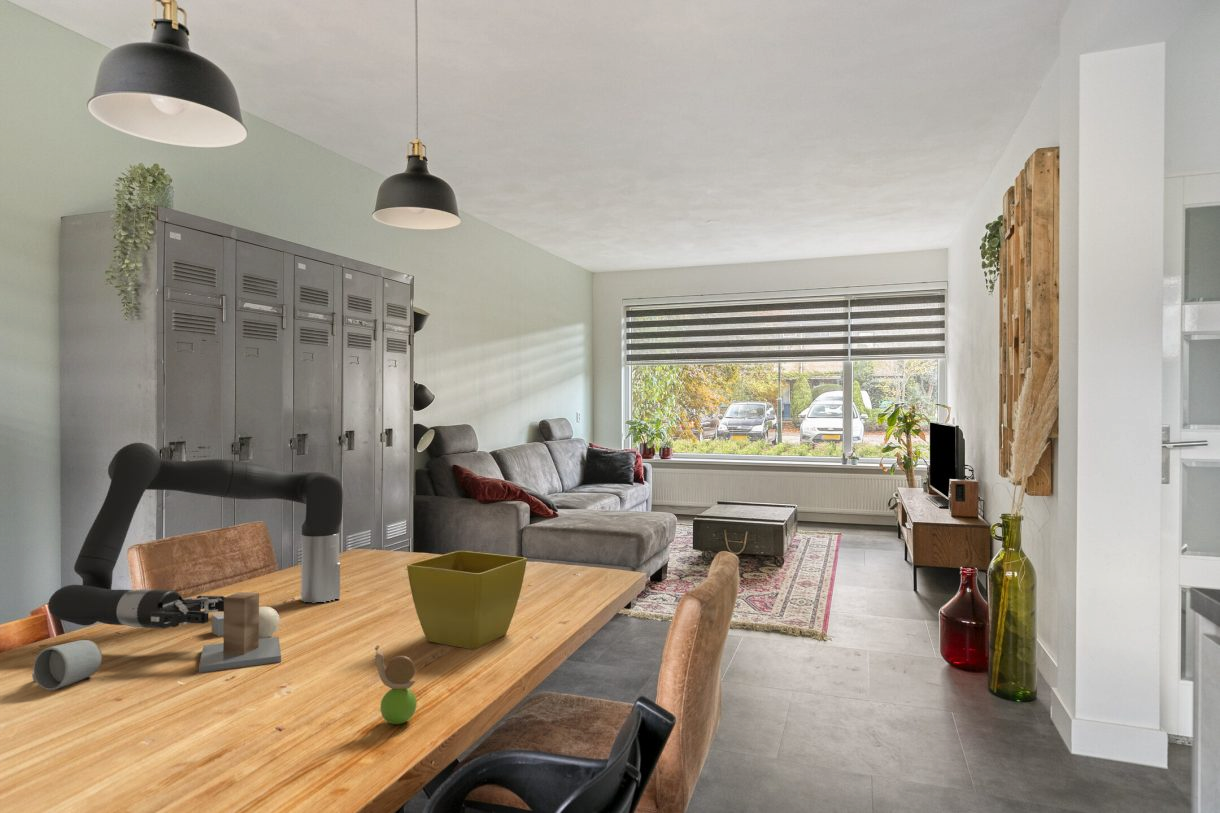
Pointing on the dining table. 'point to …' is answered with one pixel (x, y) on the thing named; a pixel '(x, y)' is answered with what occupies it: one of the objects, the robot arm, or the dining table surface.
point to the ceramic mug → (66, 664)
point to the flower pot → (466, 596)
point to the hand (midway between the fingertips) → (222, 611)
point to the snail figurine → (397, 688)
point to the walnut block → (241, 623)
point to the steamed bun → (268, 622)
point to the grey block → (218, 624)
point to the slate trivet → (239, 656)
